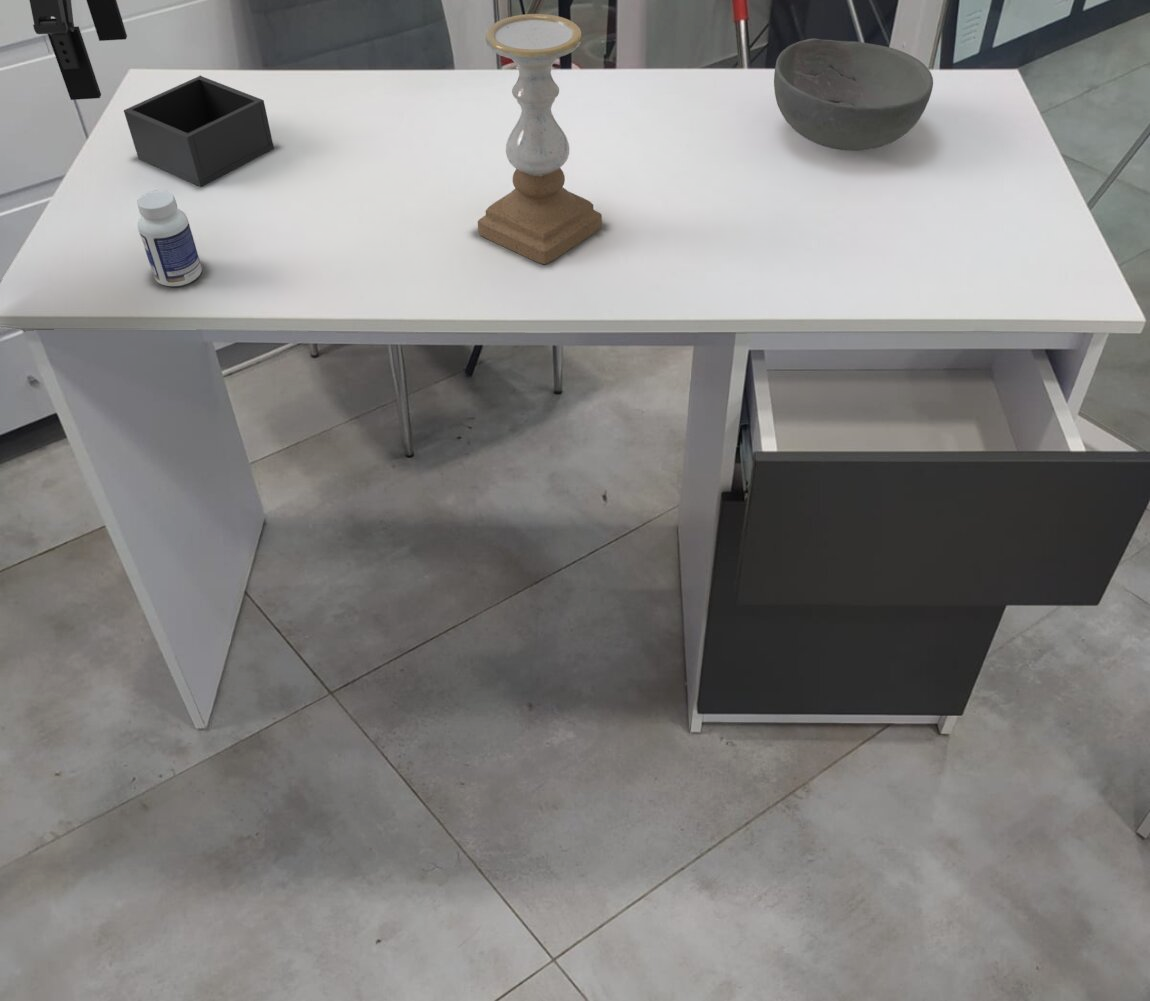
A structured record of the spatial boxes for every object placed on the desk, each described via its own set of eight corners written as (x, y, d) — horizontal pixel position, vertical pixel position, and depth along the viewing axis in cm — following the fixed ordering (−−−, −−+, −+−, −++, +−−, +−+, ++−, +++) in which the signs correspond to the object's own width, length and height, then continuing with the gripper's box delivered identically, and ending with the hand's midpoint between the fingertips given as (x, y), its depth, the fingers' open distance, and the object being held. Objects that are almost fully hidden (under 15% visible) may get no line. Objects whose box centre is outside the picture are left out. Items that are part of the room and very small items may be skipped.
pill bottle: (211, 266, 130) (190, 190, 123) (186, 291, 126) (163, 215, 119) (171, 258, 131) (147, 183, 124) (145, 283, 127) (120, 207, 120)
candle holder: (545, 266, 129) (538, 63, 112) (476, 234, 134) (460, 35, 117) (604, 227, 135) (606, 28, 118) (536, 197, 140) (529, 3, 123)
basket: (200, 187, 142) (187, 137, 138) (138, 158, 148) (123, 110, 143) (274, 148, 150) (263, 99, 145) (212, 123, 155) (200, 75, 150)
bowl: (811, 188, 141) (823, 113, 134) (741, 119, 155) (749, 47, 147) (949, 161, 146) (967, 87, 138) (869, 96, 159) (882, 25, 152)
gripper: (31, -133, 87) (114, 122, 102) (95, -214, 105) (158, 15, 120) (-68, -129, 87) (31, 127, 102) (14, -210, 105) (87, 18, 120)
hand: (100, 67), depth 111 cm, fingers open, 13 cm apart
